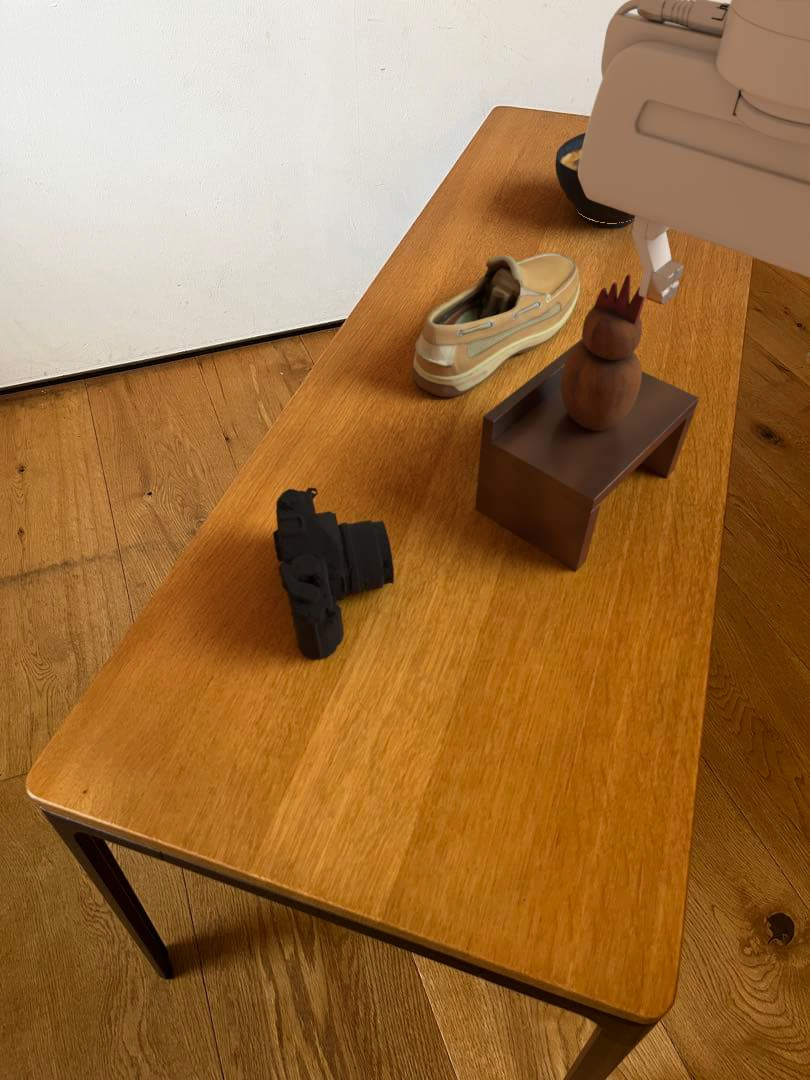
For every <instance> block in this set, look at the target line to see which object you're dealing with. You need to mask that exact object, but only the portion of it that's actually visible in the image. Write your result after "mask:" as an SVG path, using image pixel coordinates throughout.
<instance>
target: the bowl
mask: <svg viewBox="0 0 810 1080" xmlns="http://www.w3.org/2000/svg"><path fill="white" fill-rule="evenodd" d="M585 134H586V132H584V133H580V134H578V135H576V136H573V137H572V138H570V139H568V140H567V141H565V142H564V143H563V144H562V145H560V147H559V148H558V149H557V151H556V153H555V154H556V155H555V165H554V167H555V174H556V177H557V180H558V185H559V187H560V188H561V190H562V191H563V193H564V196H565V197H566V198H567V199H568V201H569V202H570V203H571V204H572V205H573V206H574V207H575V210H576V209H577V210H578V211H577V210H576V213H577V216H578V217H579V218H580V220H582V221H583V222H585V223H587V224H589V225H590V226H594V227H597V228H602V229H618V228H623V227H626V226H629V225H631V224H632V223H634V218H635V216H634V215H632V214H629V213H626V212H623V211H620V210H618V209H615V208H612V207H609V206H606V205H603V204H601V203H598V202H595V201H592V200H590V199H588V198H587V197H586V195H585V193H584V191H583V188H582V186H581V183H580V180H579V178H578V167H579V161H580V156H581V152H582V147H583V143H584V138H585ZM578 212H579V213H580V214H582V215H583V216H585V217H587V218H590V219H593V220H595V221H599V222H595V221H592V220H589V219H587V218H585V217H583V216H582V215H580V214H579V213H578ZM632 219H633V220H632ZM629 220H631V221H629ZM626 221H628V222H626ZM600 222H605V223H600ZM619 222H620V223H619ZM621 222H624V223H621ZM607 223H617V224H607Z"/></svg>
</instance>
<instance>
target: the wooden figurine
mask: <svg viewBox="0 0 810 1080" xmlns="http://www.w3.org/2000/svg"><path fill="white" fill-rule="evenodd" d="M639 289H640V285H639V286H638V288H637V289H636V291H635V294H634V295H633V297H632V299H630V298H631V274H626V276H625V277H624V280H623V283H622V286H621V288H620V291H619V293H618V283H617V282H613V283H612V284H611V286H610V289H609V292H608V290H607V288H606V287H602V289H600V292H599V294H598V296H597V298H596V301H595V303H594V306H593V307H592V308H591V309H590V310H589V311H588V313H587V314H586V316H585V317H584V322H583V324H582V331H581V337H582V338H583V339H582V338H581V339H582V340H581V339H580V340H581V341H580V340H578V341H579V342H578V341H577V342H578V343H577V342H576V343H577V344H576V343H575V344H576V345H575V344H574V345H575V346H574V347H573V348H572V350H571V351H570V352H569V354H568V355H567V358H566V362H565V365H564V370H563V374H562V379H561V392H562V397H563V401H564V404H565V407H566V409H567V411H568V414H569V415H570V417H571V418H572V419H573V420H574V421H575V422H576V423H578V424H579V425H581V426H582V427H585V428H587V429H590V430H595V431H602V430H608V429H610V428H613V427H615V426H616V425H617V424H619V423H620V422H621V421H622V419H623V418H624V417H625V416H626V415H627V414H628V412H629V411H630V410H631V408H632V406H633V404H634V402H635V400H636V398H637V395H638V392H639V389H640V384H641V377H642V372H643V369H642V363H641V361H640V359H639V358H638V356H637V354H636V353H635V351H636V350H637V348H638V347H639V344H640V341H641V339H642V332H643V330H642V329H643V325H642V321H643V320H642V319H641V313H642V311H643V307H644V302H645V299H646V298H644V297H642V296H640V295H639Z"/></svg>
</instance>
